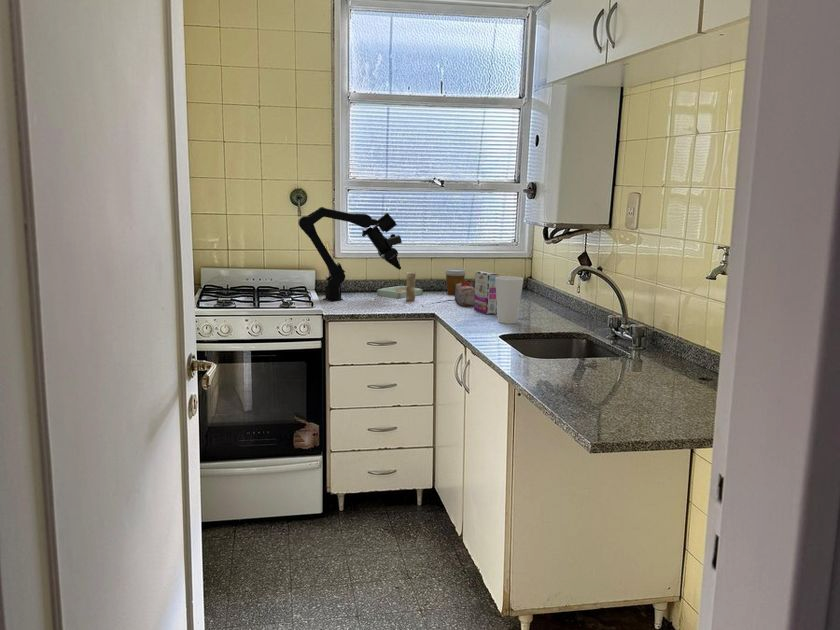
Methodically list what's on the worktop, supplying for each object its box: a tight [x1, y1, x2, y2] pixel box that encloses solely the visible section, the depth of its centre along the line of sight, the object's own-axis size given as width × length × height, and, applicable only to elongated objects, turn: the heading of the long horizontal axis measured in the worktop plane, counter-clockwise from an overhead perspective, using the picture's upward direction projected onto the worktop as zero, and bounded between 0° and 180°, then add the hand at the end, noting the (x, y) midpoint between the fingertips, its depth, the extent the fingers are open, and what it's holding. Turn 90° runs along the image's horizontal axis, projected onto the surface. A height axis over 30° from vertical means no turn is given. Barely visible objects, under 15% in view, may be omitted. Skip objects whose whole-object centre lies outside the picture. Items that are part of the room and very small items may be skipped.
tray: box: [376, 285, 424, 299], centre depth 345 cm, size 16×13×4 cm
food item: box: [454, 281, 475, 307], centre depth 330 cm, size 14×8×10 cm, turn 14°
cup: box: [495, 275, 525, 325], centre depth 292 cm, size 11×10×17 cm
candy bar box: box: [473, 270, 499, 315], centre depth 312 cm, size 11×5×16 cm, turn 25°
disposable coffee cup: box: [444, 268, 467, 296], centre depth 350 cm, size 10×10×12 cm
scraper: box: [405, 271, 416, 302], centre depth 330 cm, size 4×7×13 cm, turn 177°
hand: (398, 267), depth 336 cm, fingers open, 9 cm apart
